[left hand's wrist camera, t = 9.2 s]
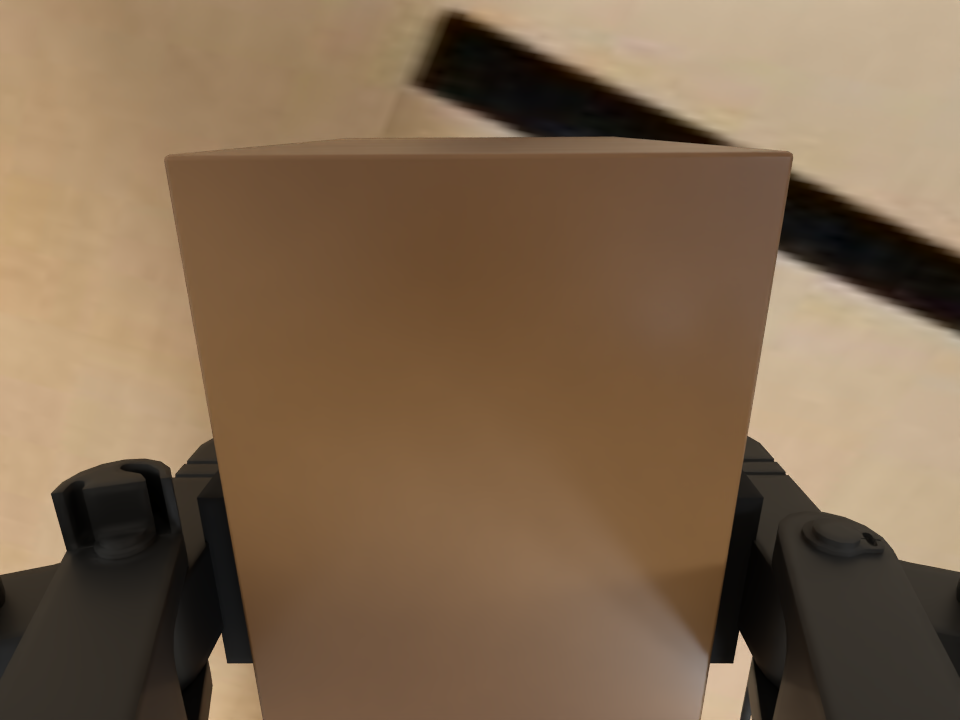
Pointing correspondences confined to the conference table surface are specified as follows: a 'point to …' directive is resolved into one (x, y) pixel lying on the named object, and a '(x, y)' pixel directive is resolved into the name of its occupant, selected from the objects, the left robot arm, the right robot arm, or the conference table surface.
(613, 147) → the beam
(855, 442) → the conference table surface
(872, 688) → the left robot arm
